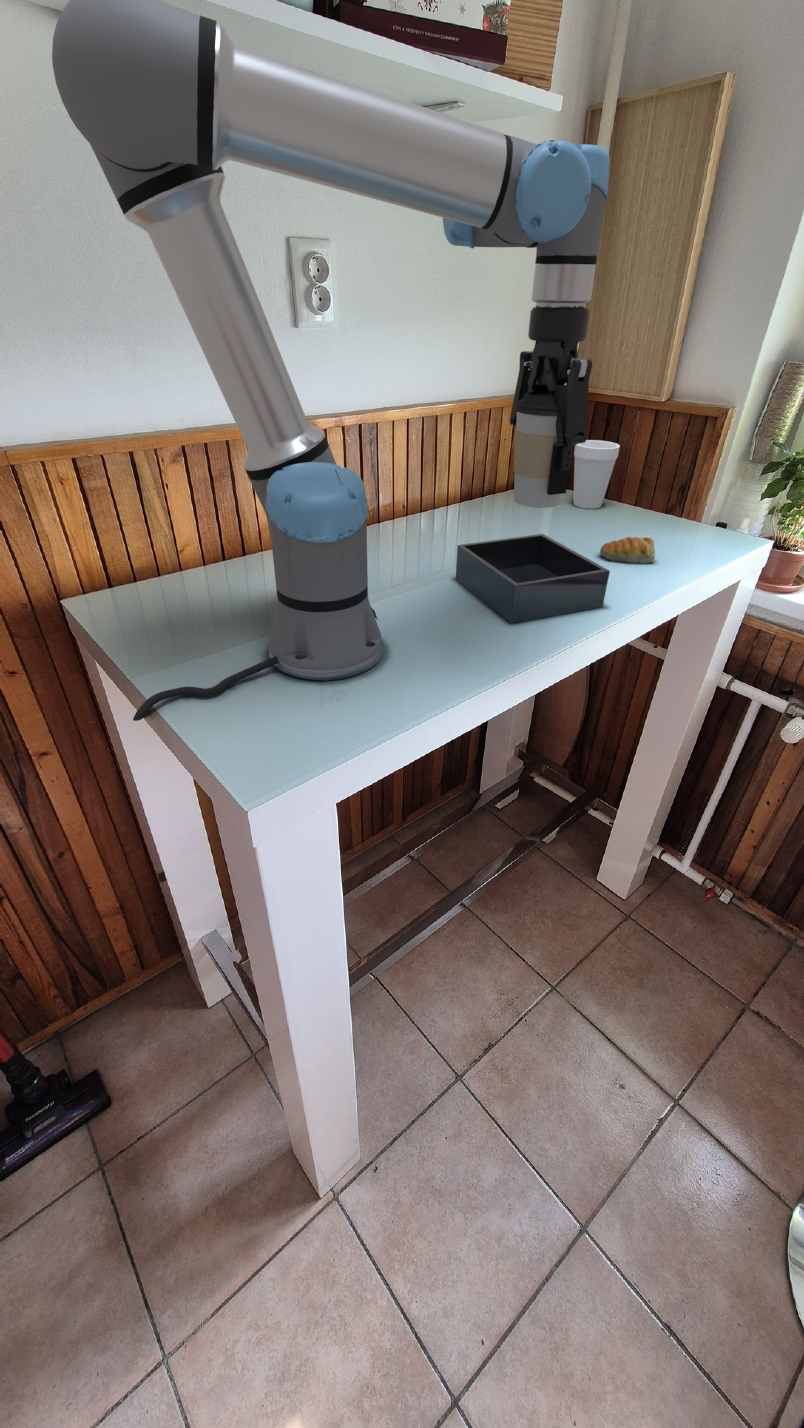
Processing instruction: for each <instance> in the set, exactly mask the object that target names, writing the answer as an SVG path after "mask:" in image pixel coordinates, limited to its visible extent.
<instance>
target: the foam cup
mask: <svg viewBox="0 0 804 1428" xmlns="http://www.w3.org/2000/svg"><path fill="white" fill-rule="evenodd" d="M620 447H621V445H620V444H619V443H616V442H612V441H609V440H599V439H598V440H597V439H596V440H595V439H586V442H585V443H580V444H576V445H575V446H574V450H573V456H574V465H573V466H574V467H573V468H574V469H573V470H574V471H573V502H572V503H573V505H574V506H576V507H577V508H583V509H599V508H601V507H602V505H603V502H604V499H605V496H606V493H607V490H608V487H609V482H610V479H611V477H612V474H613V471H614V468H615V464H616V461H617V459H618V458H619V452H620Z"/></svg>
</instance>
